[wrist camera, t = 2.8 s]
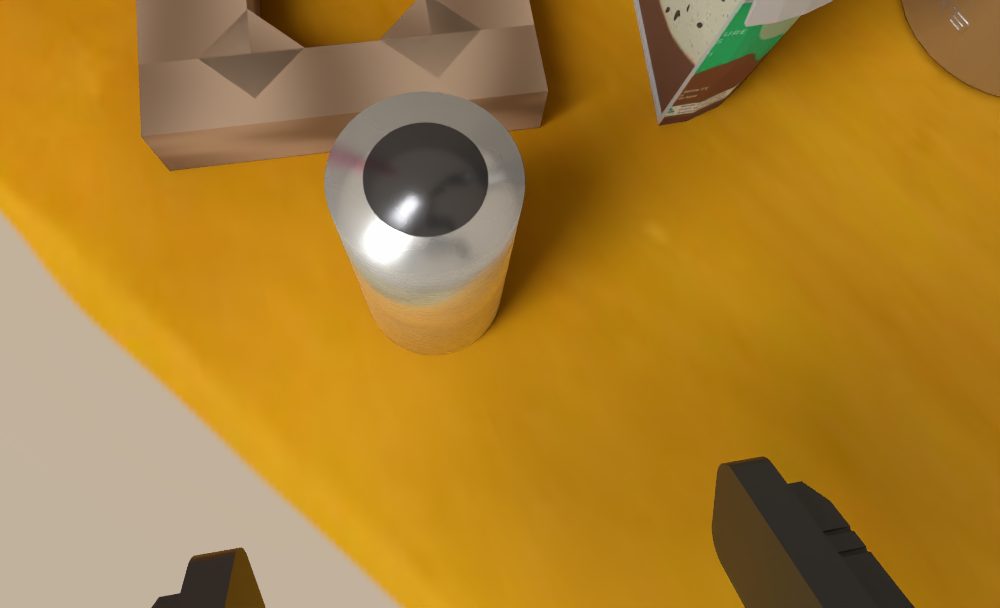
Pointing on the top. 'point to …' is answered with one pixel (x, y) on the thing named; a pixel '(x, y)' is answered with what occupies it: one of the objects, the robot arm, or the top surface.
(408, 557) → the top surface
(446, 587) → the top surface
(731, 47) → the food container
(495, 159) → the bushing
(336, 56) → the frame
